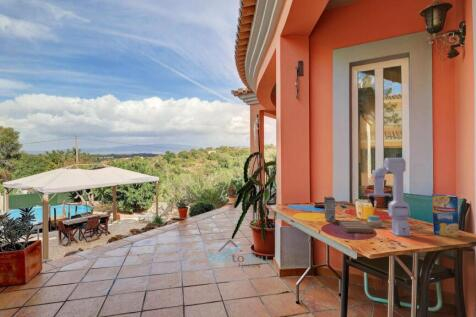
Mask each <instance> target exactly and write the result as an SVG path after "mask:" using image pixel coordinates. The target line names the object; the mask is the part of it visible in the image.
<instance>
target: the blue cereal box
mask: <svg viewBox="0 0 476 317" xmlns="http://www.w3.org/2000/svg"><path fill="white" fill-rule="evenodd" d="M458 198H459V197H458V196H457V195H456V194H441V193H440V194H438V193H436V194H435V193H432V194H431V201H432V202H431V203H432V205H431V206H432V232H433V235H434V236H436V235H437V236H444V237H451V238H452V237H453V238H460V235H459V234H460V233H459V208H458V206H459V204H458Z"/></svg>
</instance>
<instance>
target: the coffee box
mask: <svg viewBox="0 0 476 317" xmlns="http://www.w3.org/2000/svg"><path fill="white" fill-rule="evenodd" d="M323 200H324V220H325V221H326V222H336V199H335V197H334V196H324V199H323Z"/></svg>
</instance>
